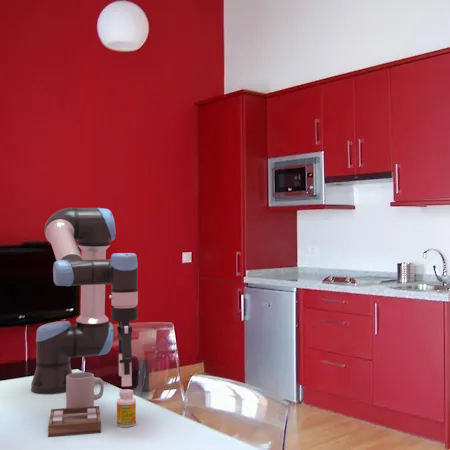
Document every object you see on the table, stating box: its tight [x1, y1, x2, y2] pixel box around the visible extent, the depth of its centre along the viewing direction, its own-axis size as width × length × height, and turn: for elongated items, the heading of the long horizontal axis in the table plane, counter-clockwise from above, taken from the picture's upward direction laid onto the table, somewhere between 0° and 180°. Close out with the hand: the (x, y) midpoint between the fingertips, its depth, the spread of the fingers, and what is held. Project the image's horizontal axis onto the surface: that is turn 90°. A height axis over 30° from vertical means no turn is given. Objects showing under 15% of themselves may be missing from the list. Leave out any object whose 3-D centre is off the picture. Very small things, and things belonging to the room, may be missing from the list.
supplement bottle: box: [116, 388, 137, 428], centre depth 174 cm, size 5×5×10 cm
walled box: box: [47, 405, 102, 438], centre depth 174 cm, size 16×14×3 cm
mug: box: [65, 371, 105, 408], centre depth 190 cm, size 12×8×11 cm
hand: (125, 380), depth 174 cm, fingers open, 13 cm apart
